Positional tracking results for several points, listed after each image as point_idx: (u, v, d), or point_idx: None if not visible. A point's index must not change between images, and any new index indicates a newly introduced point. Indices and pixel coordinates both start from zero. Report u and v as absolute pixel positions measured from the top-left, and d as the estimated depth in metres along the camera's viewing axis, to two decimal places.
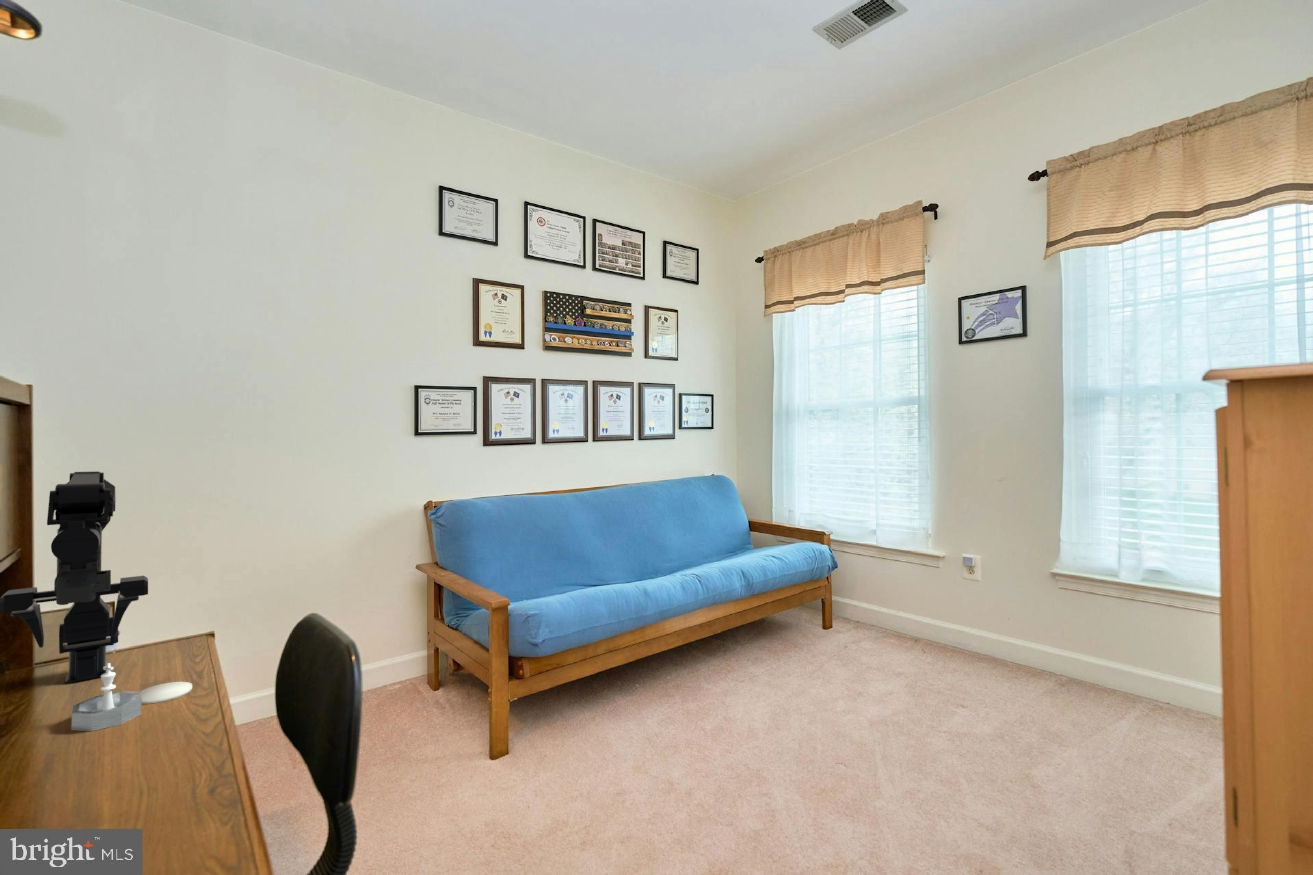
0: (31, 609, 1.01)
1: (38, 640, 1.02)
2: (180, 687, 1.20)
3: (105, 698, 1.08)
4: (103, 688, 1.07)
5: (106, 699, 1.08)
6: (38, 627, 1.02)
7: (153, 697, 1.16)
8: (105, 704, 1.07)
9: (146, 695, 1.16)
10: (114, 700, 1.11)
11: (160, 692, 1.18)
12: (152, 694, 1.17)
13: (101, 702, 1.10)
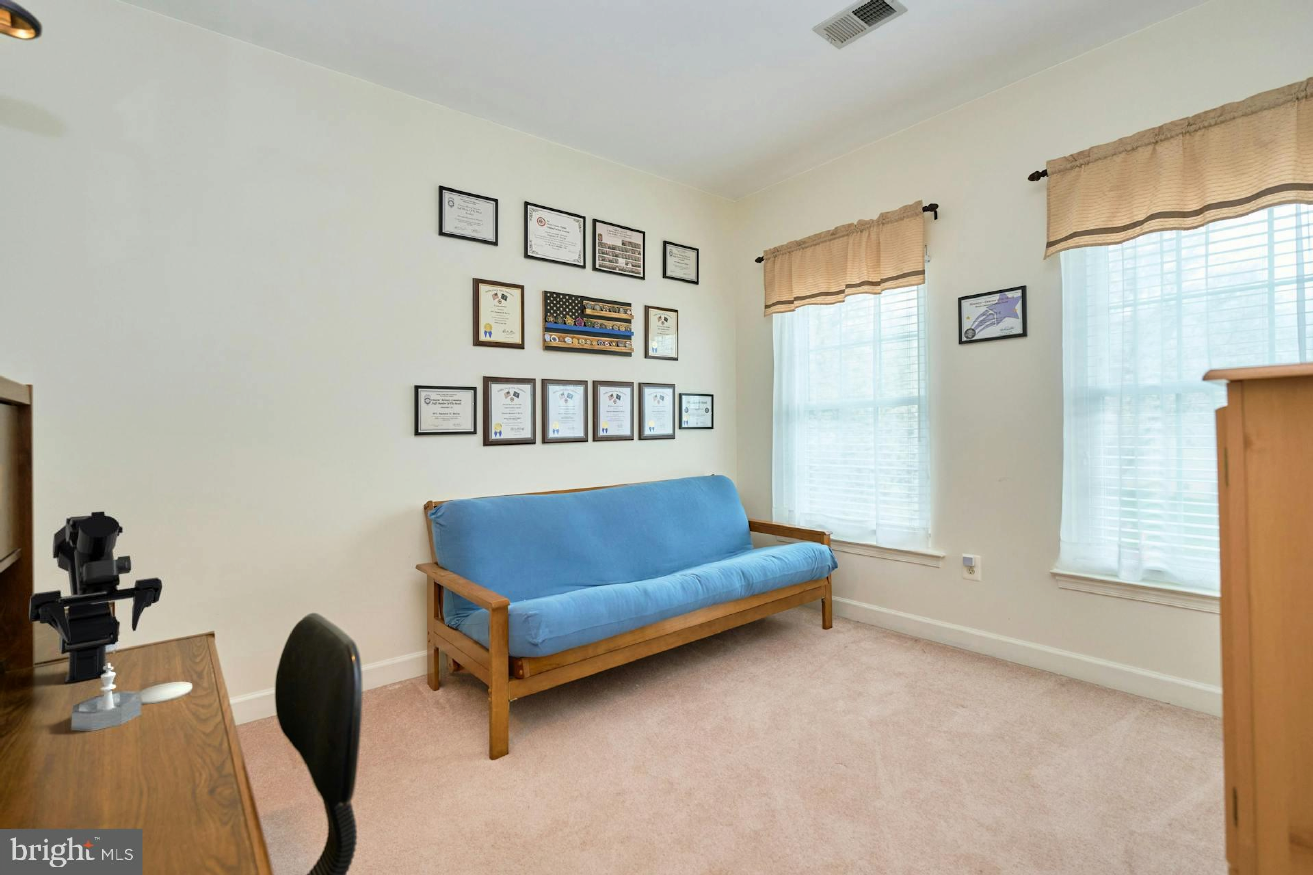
0: None
1: (66, 633, 1.10)
2: (180, 687, 1.20)
3: (105, 698, 1.08)
4: (103, 688, 1.07)
5: (106, 699, 1.08)
6: (65, 620, 1.11)
7: (153, 697, 1.16)
8: (105, 704, 1.07)
9: (146, 695, 1.16)
10: (114, 700, 1.11)
11: (160, 692, 1.18)
12: (152, 694, 1.17)
13: (101, 702, 1.10)
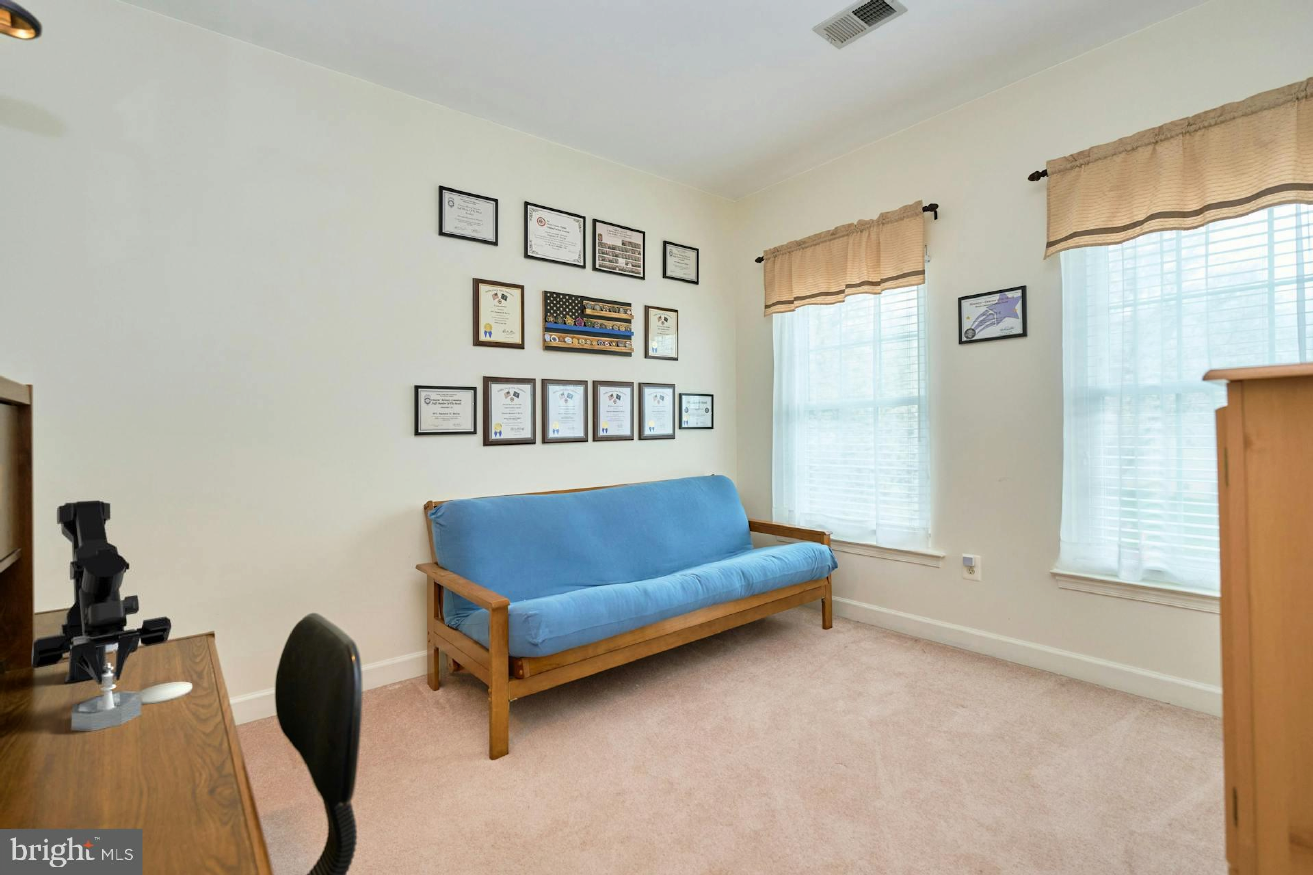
0: None
1: (97, 674, 1.06)
2: (180, 687, 1.20)
3: (105, 698, 1.08)
4: (103, 688, 1.07)
5: (106, 699, 1.08)
6: (97, 661, 1.07)
7: (153, 697, 1.16)
8: (105, 704, 1.07)
9: (146, 695, 1.16)
10: (114, 700, 1.11)
11: (160, 692, 1.18)
12: (152, 694, 1.17)
13: (101, 702, 1.10)
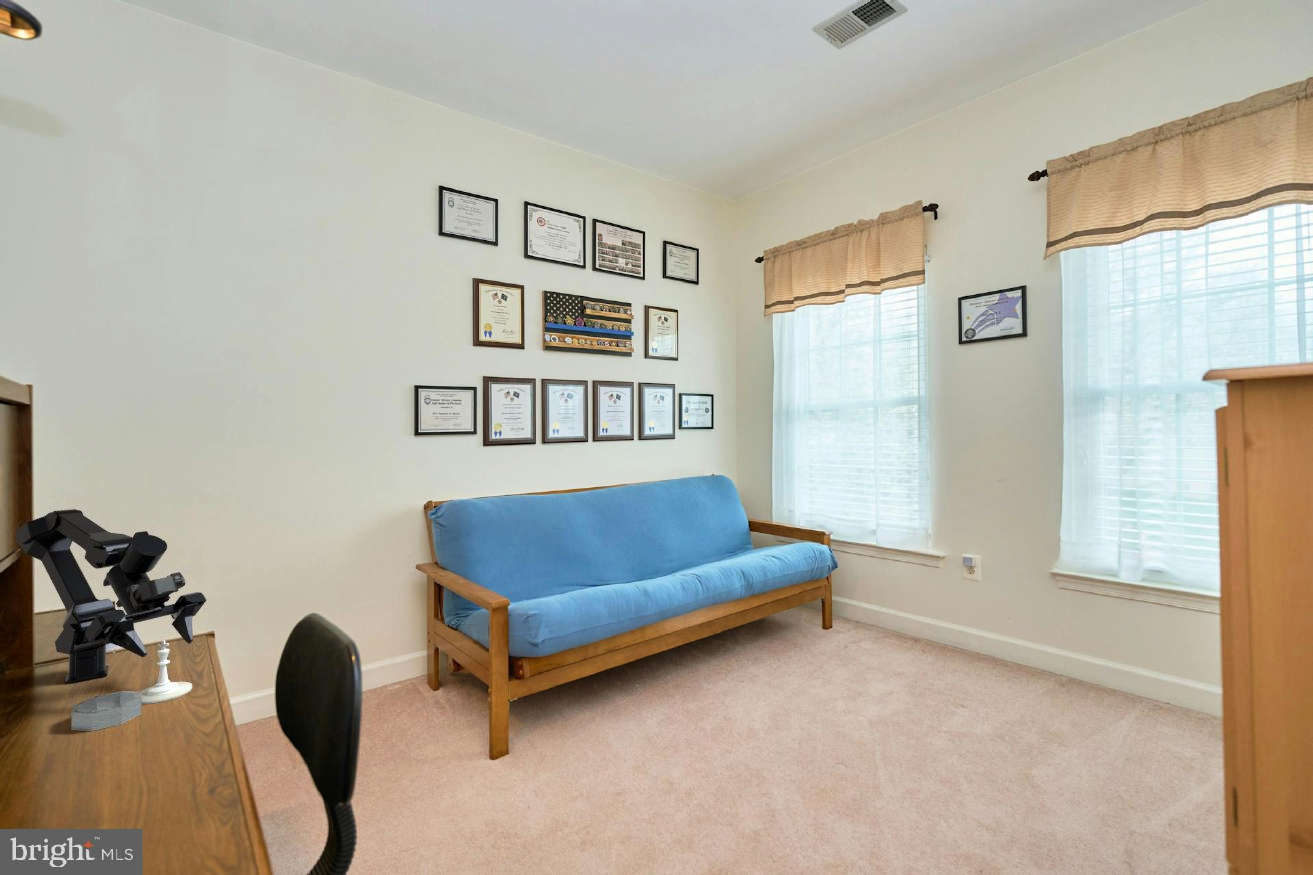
0: None
1: (141, 647, 1.14)
2: (180, 687, 1.20)
3: (162, 672, 1.18)
4: (160, 663, 1.18)
5: (163, 673, 1.18)
6: (137, 636, 1.15)
7: (153, 697, 1.16)
8: (162, 677, 1.18)
9: (146, 695, 1.16)
10: (114, 700, 1.11)
11: None
12: None
13: (101, 702, 1.10)
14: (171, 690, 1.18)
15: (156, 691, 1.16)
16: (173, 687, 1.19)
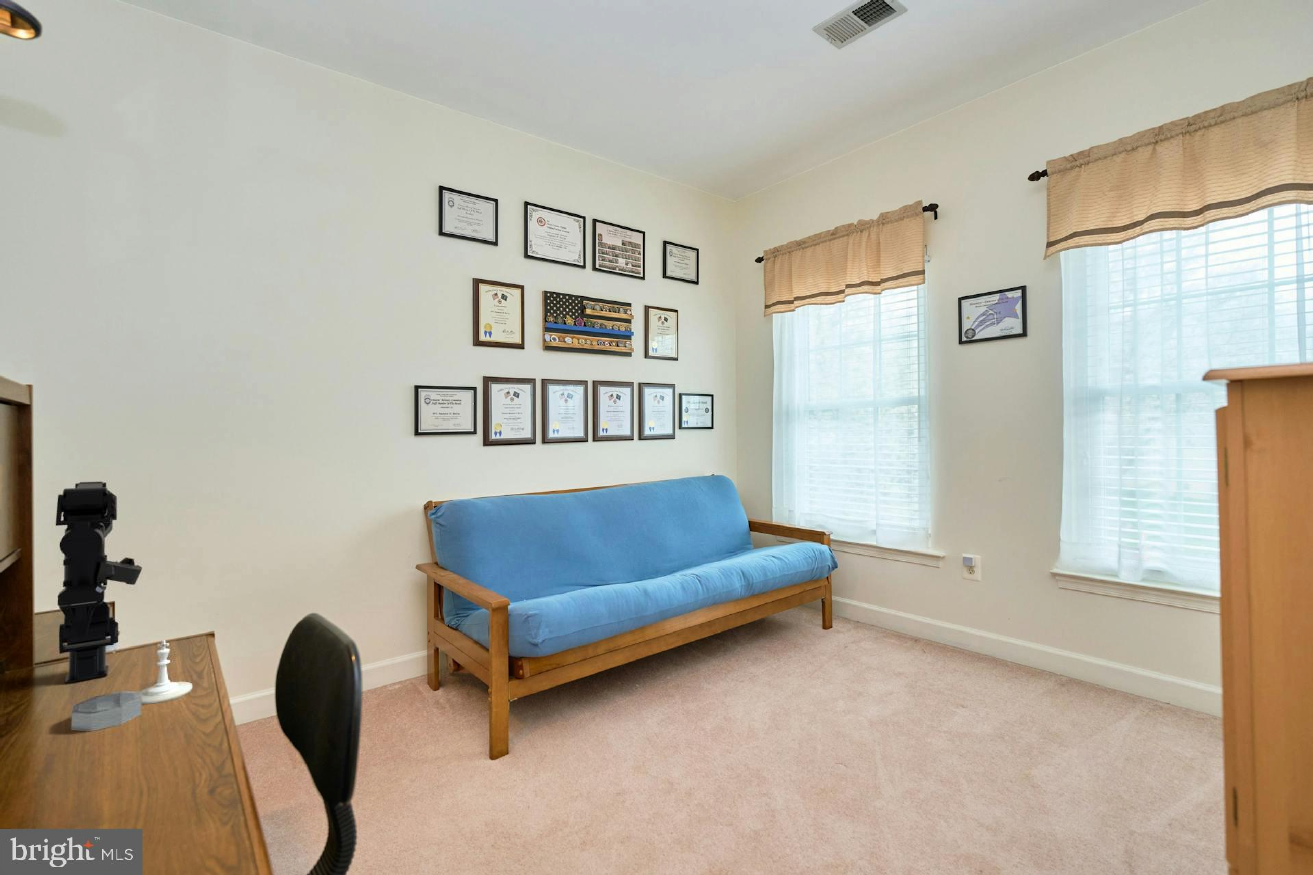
0: None
1: (87, 629, 1.14)
2: (180, 687, 1.20)
3: (162, 672, 1.18)
4: (160, 663, 1.18)
5: (163, 673, 1.18)
6: (91, 616, 1.14)
7: (153, 697, 1.16)
8: (162, 677, 1.18)
9: (146, 695, 1.16)
10: (114, 700, 1.11)
11: None
12: None
13: (101, 702, 1.10)
14: (171, 690, 1.18)
15: (156, 691, 1.16)
16: (173, 687, 1.19)
